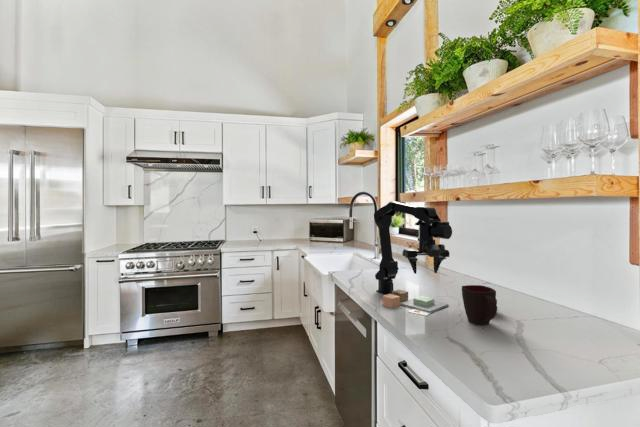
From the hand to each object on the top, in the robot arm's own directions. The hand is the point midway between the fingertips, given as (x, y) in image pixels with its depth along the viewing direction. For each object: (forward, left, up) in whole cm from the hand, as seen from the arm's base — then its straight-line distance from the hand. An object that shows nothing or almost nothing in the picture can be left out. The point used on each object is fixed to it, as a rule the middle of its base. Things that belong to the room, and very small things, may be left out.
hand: (425, 273), depth 136 cm
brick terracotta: (-8, -13, -13) cm, 20 cm away
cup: (+26, -7, -13) cm, 30 cm away
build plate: (+1, -3, -13) cm, 13 cm away
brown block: (-10, -4, -13) cm, 17 cm away
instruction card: (+5, -12, -13) cm, 18 cm away
